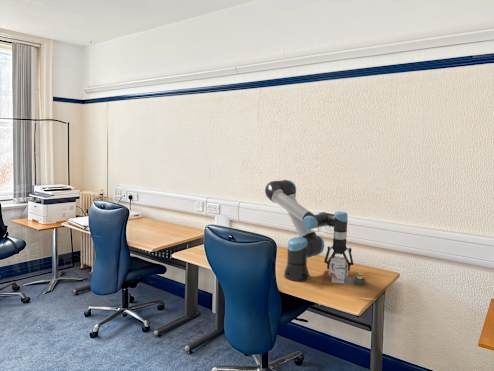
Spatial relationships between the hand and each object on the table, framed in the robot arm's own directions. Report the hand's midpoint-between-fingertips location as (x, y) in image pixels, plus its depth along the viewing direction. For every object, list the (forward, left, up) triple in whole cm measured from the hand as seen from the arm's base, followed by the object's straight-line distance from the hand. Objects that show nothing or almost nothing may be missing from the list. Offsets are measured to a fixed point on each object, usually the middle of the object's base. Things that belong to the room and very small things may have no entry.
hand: (338, 275), depth 224 cm
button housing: (+12, -3, -3) cm, 13 cm away
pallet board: (+6, 0, -4) cm, 7 cm away
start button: (+12, -3, -2) cm, 12 cm away
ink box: (0, 0, -1) cm, 1 cm away
